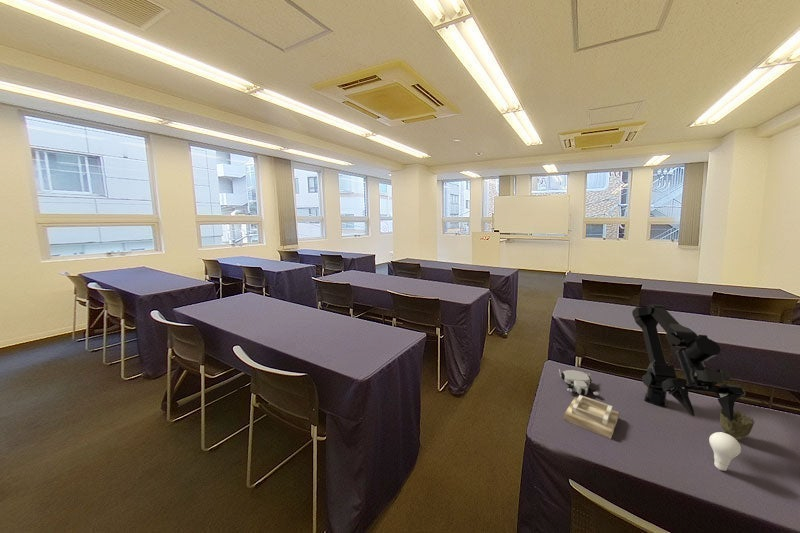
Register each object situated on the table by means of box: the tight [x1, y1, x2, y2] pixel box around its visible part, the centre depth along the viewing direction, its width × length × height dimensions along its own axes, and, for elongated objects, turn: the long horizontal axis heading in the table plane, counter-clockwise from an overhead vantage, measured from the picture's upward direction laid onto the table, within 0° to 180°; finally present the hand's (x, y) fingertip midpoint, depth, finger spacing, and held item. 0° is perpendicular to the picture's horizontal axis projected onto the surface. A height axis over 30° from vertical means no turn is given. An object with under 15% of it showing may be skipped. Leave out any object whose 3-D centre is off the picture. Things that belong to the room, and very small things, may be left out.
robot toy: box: [558, 369, 599, 396], centre depth 128 cm, size 12×4×15 cm
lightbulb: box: [708, 431, 742, 471], centre depth 86 cm, size 6×6×11 cm
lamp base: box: [563, 394, 620, 440], centre depth 108 cm, size 14×14×5 cm
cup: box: [719, 408, 755, 442], centre depth 98 cm, size 8×7×8 cm
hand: (711, 418), depth 90 cm, fingers open, 9 cm apart
